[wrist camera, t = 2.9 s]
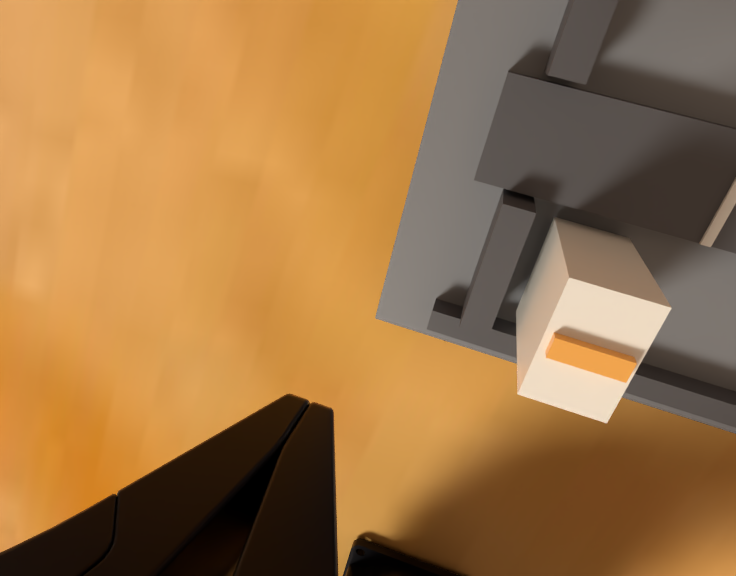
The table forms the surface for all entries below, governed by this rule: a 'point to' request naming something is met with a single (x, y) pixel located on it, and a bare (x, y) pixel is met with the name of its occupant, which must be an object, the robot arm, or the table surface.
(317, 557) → the robot arm
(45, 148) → the table surface
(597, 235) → the fader
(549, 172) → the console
